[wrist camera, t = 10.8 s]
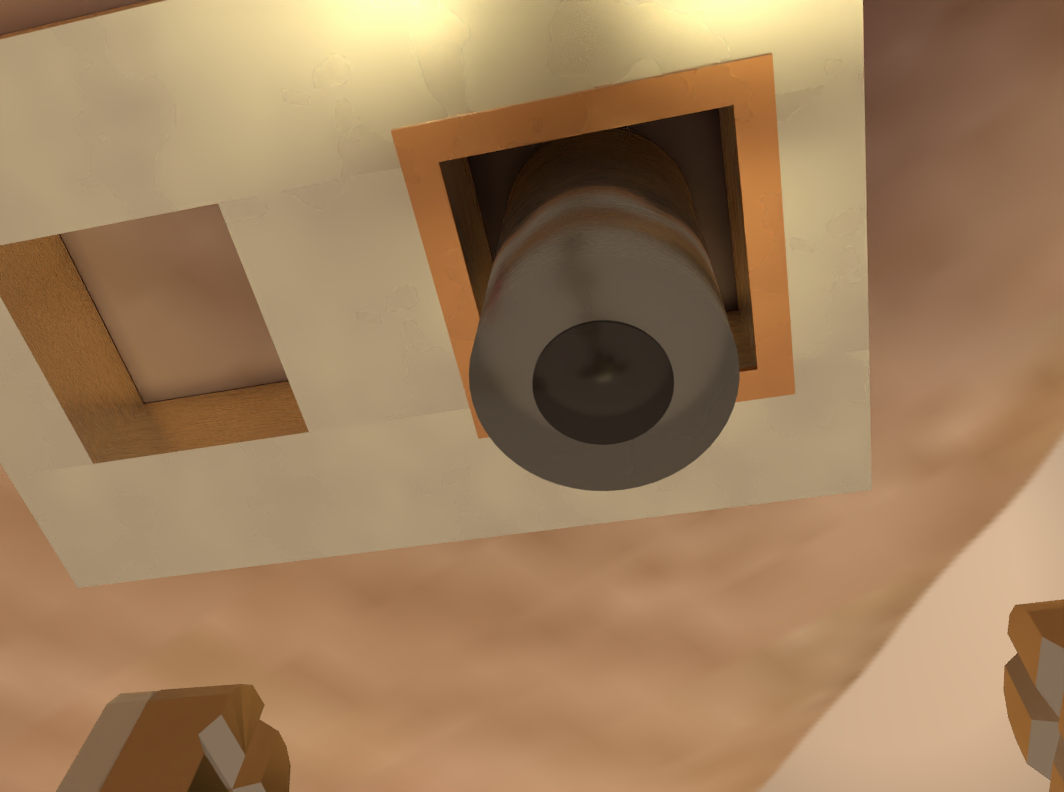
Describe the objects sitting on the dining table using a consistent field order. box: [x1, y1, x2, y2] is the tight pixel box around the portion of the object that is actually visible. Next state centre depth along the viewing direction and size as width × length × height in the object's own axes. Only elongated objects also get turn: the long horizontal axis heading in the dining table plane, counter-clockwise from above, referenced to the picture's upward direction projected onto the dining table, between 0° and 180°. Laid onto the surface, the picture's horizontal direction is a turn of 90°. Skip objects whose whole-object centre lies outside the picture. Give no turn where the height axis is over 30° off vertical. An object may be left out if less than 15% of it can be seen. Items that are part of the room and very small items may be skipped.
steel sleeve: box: [469, 128, 740, 491], centre depth 18 cm, size 5×5×8 cm
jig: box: [0, 0, 872, 588], centre depth 21 cm, size 14×22×3 cm, turn 102°
